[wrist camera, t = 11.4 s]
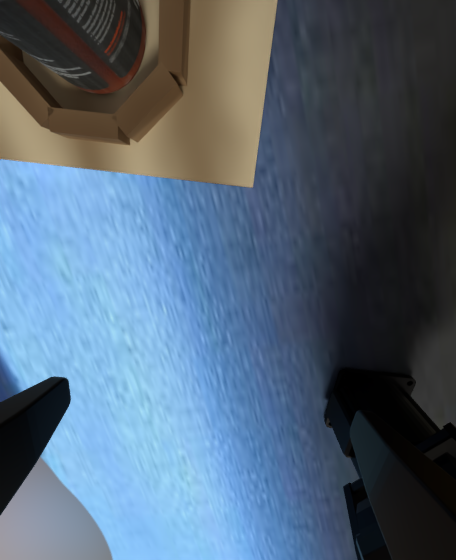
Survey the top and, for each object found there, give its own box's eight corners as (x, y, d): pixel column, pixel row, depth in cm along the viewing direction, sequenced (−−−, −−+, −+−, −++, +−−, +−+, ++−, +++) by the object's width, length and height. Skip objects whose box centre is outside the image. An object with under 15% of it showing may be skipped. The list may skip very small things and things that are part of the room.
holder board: (290, -107, 12) (304, -186, 10) (251, 187, 17) (254, 185, 14) (-103, -153, 12) (-191, -245, 10) (-35, 154, 16) (-83, 146, 14)
